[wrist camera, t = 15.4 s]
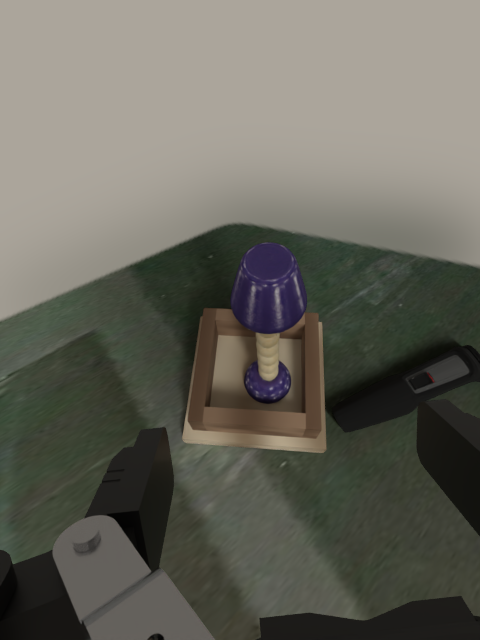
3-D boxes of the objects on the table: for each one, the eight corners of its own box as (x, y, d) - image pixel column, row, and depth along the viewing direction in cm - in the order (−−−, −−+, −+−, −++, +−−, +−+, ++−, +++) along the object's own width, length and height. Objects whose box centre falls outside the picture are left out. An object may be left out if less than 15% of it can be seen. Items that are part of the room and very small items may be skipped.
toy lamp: (231, 392, 34) (212, 283, 19) (249, 347, 36) (245, 220, 21) (282, 411, 33) (302, 311, 18) (298, 364, 35) (328, 241, 20)
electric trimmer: (319, 406, 35) (324, 395, 32) (461, 346, 37) (477, 332, 34) (339, 445, 33) (346, 437, 30) (487, 380, 35) (506, 367, 32)
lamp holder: (319, 329, 38) (326, 306, 34) (323, 452, 32) (332, 441, 28) (202, 323, 39) (196, 300, 35) (185, 442, 33) (175, 430, 29)
